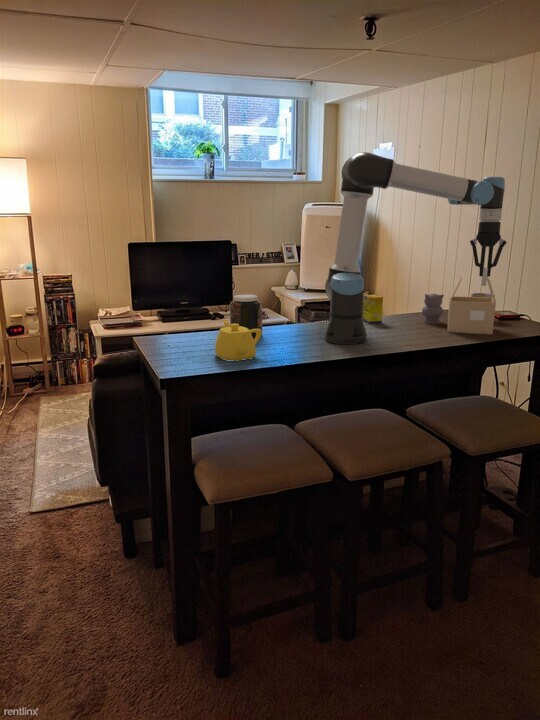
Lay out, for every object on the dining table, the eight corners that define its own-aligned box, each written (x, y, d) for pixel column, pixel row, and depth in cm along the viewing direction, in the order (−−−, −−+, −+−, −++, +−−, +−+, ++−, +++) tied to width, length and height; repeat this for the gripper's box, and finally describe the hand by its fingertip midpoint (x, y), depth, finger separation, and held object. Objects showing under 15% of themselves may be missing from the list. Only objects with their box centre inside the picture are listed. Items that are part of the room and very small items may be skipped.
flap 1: (451, 300, 208) (450, 299, 208) (450, 295, 218) (449, 295, 218) (461, 279, 205) (460, 279, 205) (460, 275, 215) (459, 275, 215)
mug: (497, 320, 230) (500, 295, 228) (479, 322, 227) (481, 297, 224) (477, 315, 241) (479, 291, 238) (460, 317, 238) (462, 292, 235)
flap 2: (491, 297, 214) (493, 296, 214) (494, 301, 204) (495, 301, 204) (485, 276, 213) (487, 276, 212) (488, 280, 203) (489, 279, 202)
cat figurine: (441, 320, 231) (443, 292, 228) (443, 324, 224) (446, 295, 221) (420, 320, 233) (422, 291, 229) (422, 324, 225) (424, 294, 222)
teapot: (274, 362, 173) (274, 328, 170) (227, 367, 167) (226, 333, 164) (250, 346, 192) (250, 315, 189) (207, 350, 187) (206, 319, 184)
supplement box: (362, 320, 232) (363, 295, 229) (375, 319, 234) (376, 294, 231) (368, 323, 227) (370, 297, 224) (381, 322, 228) (383, 296, 225)
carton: (447, 332, 211) (450, 301, 208) (447, 325, 222) (449, 296, 219) (492, 334, 207) (495, 303, 203) (489, 327, 218) (492, 297, 215)
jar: (243, 340, 200) (242, 299, 195) (224, 335, 208) (223, 295, 204) (268, 335, 207) (268, 296, 203) (249, 330, 215) (248, 292, 211)
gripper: (471, 221, 200) (466, 286, 207) (510, 221, 197) (503, 287, 203) (470, 220, 207) (464, 283, 214) (507, 220, 204) (500, 284, 210)
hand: (483, 285), depth 209 cm, fingers closed
